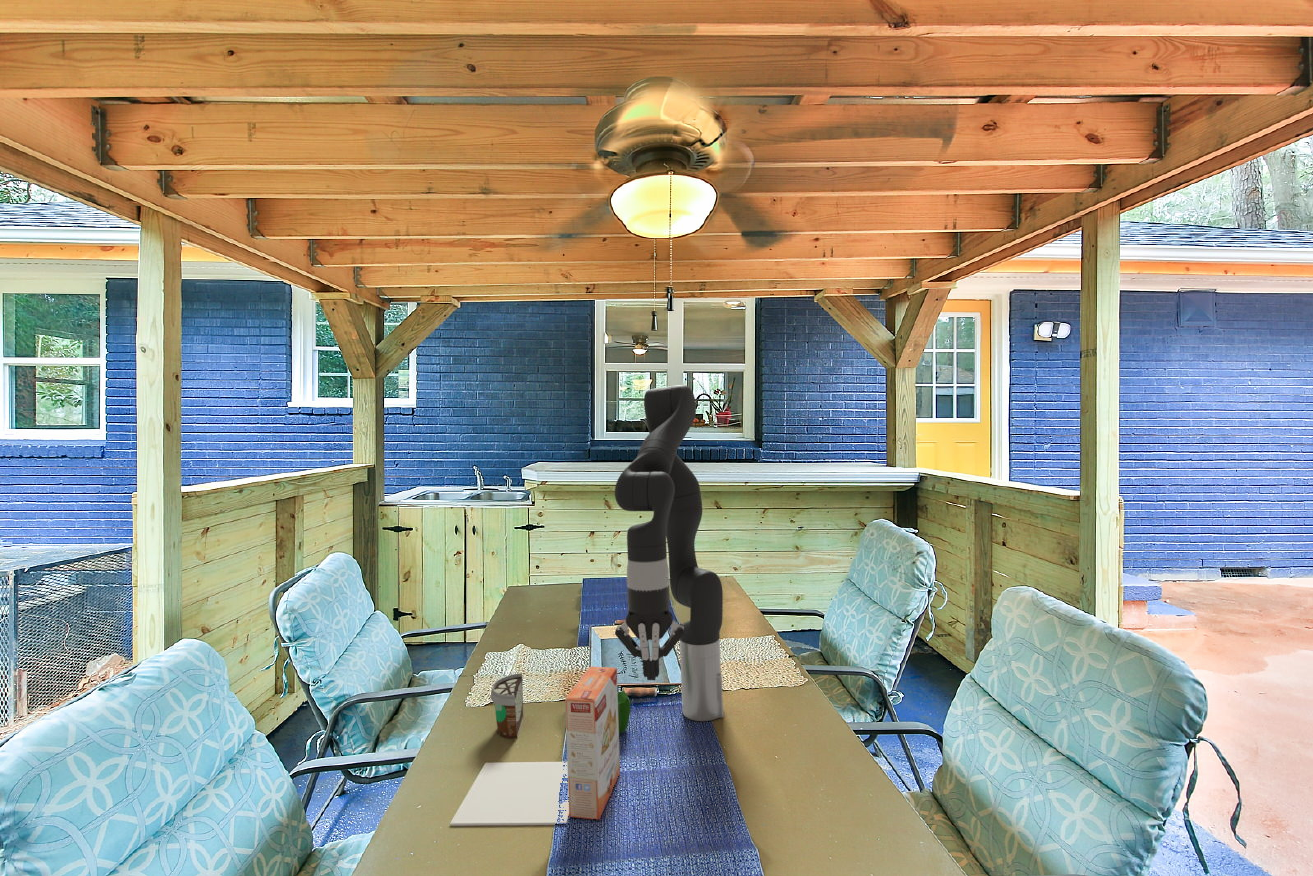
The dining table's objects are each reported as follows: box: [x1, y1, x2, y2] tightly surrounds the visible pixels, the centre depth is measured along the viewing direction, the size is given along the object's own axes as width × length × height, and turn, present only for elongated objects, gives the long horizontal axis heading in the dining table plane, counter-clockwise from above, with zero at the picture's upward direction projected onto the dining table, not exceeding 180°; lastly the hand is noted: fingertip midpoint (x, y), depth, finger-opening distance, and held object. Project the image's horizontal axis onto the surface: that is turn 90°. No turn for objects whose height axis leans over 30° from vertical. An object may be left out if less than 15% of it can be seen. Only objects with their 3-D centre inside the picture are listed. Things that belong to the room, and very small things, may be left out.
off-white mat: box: [449, 761, 569, 827], centre depth 110 cm, size 20×18×1 cm
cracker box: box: [564, 666, 621, 821], centre depth 108 cm, size 14×6×21 cm, turn 168°
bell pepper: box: [617, 690, 632, 734], centre depth 130 cm, size 8×8×10 cm
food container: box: [490, 672, 524, 740], centre depth 133 cm, size 12×6×10 cm, turn 5°
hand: (651, 678), depth 107 cm, fingers closed
